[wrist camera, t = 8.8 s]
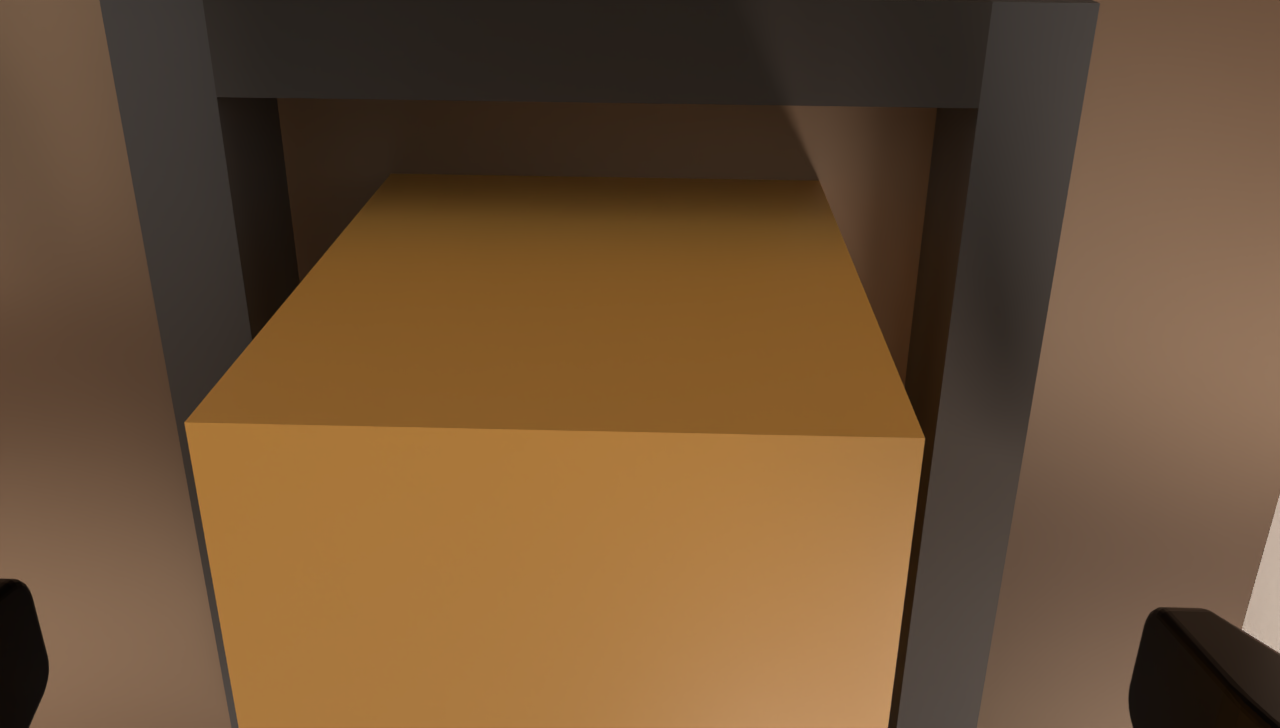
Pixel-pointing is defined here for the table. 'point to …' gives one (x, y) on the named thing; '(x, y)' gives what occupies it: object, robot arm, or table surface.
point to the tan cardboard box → (565, 466)
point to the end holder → (696, 149)
